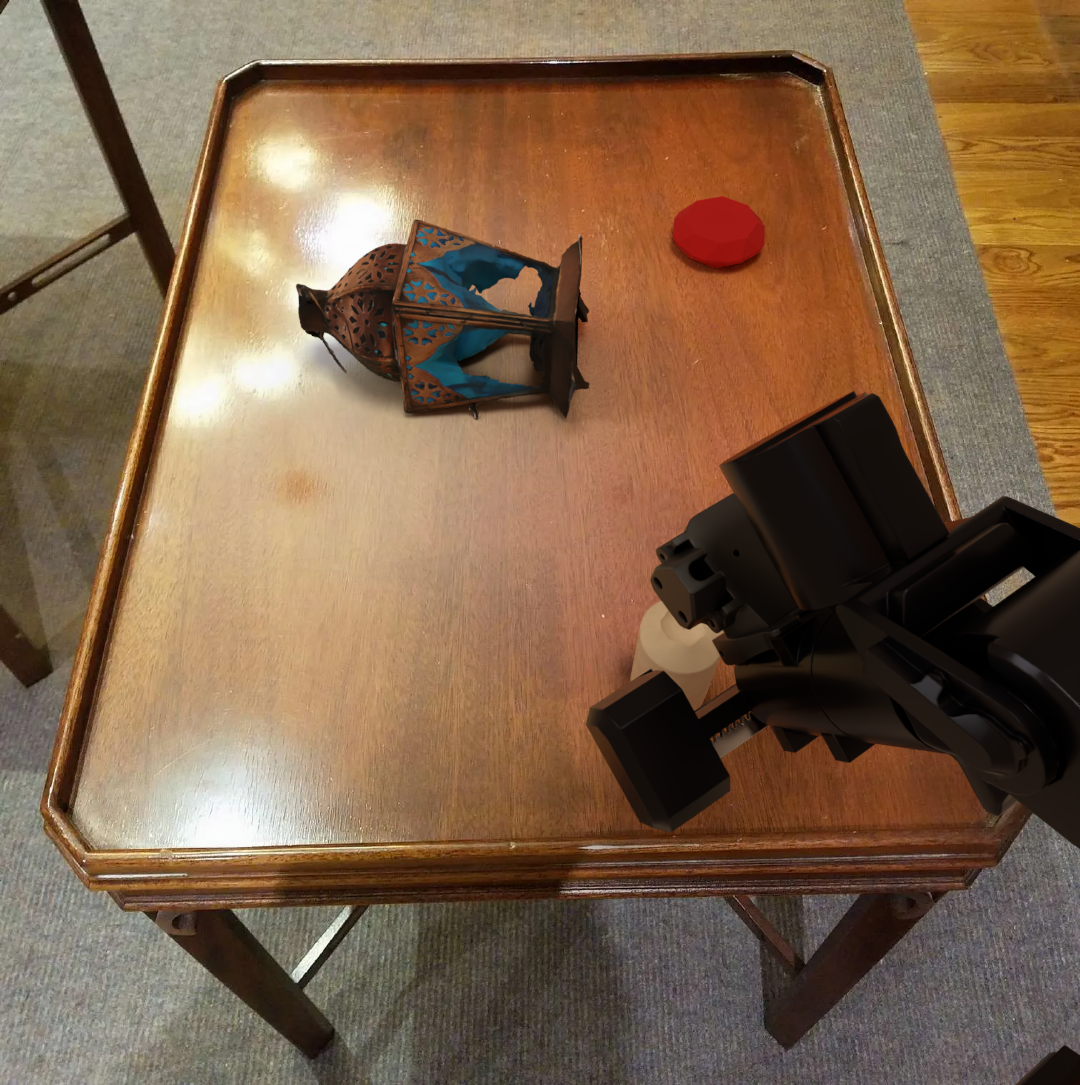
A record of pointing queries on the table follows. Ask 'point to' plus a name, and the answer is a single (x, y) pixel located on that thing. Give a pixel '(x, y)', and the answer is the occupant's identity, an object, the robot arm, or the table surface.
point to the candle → (677, 652)
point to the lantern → (449, 318)
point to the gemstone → (718, 232)
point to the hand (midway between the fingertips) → (704, 667)
